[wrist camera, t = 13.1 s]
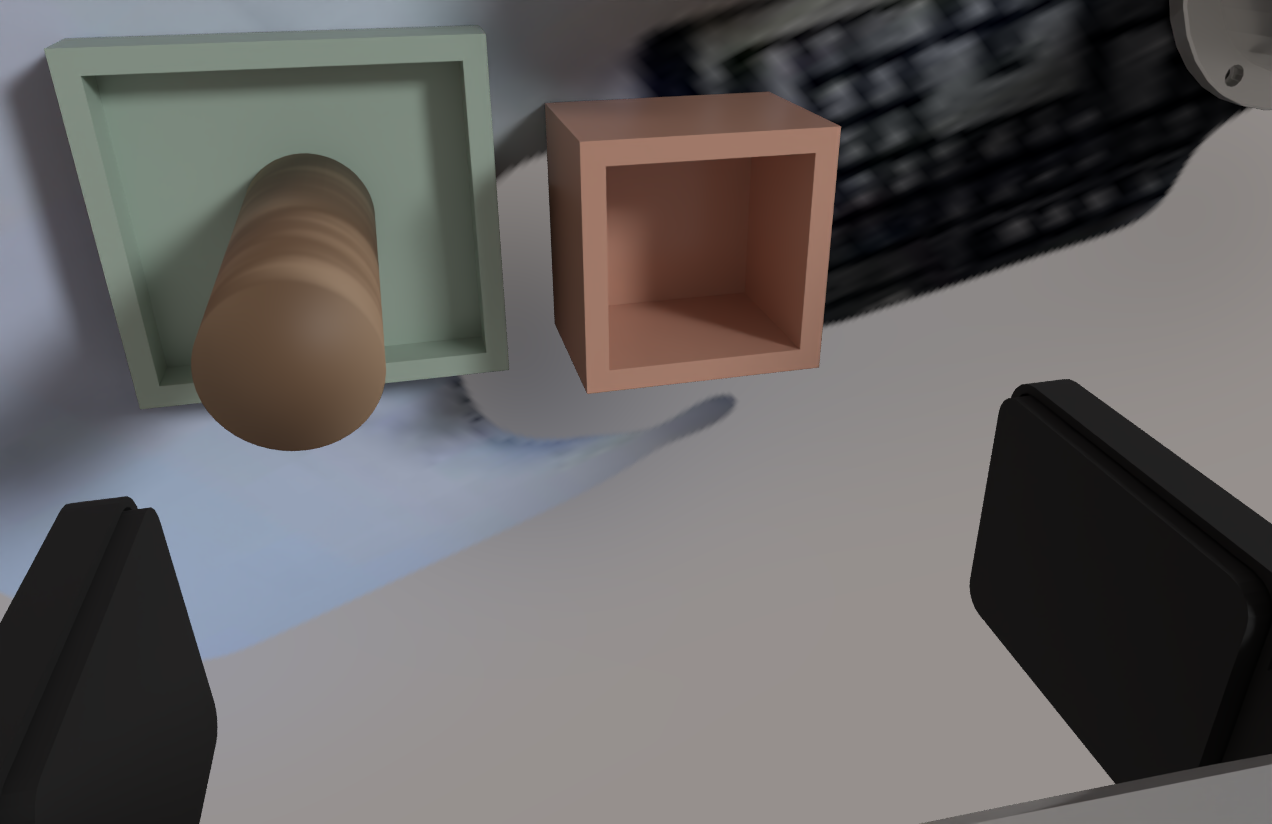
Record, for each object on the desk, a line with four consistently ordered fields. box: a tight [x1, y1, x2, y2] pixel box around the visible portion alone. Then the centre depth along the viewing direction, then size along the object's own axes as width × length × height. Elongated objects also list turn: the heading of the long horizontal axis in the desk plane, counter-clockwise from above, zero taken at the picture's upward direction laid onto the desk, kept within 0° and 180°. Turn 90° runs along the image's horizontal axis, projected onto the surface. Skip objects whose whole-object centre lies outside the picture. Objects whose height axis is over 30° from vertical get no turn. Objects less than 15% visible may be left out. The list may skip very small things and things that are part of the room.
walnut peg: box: [191, 153, 386, 451], centre depth 29 cm, size 4×4×13 cm
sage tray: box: [44, 25, 509, 409], centre depth 34 cm, size 13×12×2 cm
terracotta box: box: [545, 92, 841, 394], centre depth 36 cm, size 9×9×6 cm
